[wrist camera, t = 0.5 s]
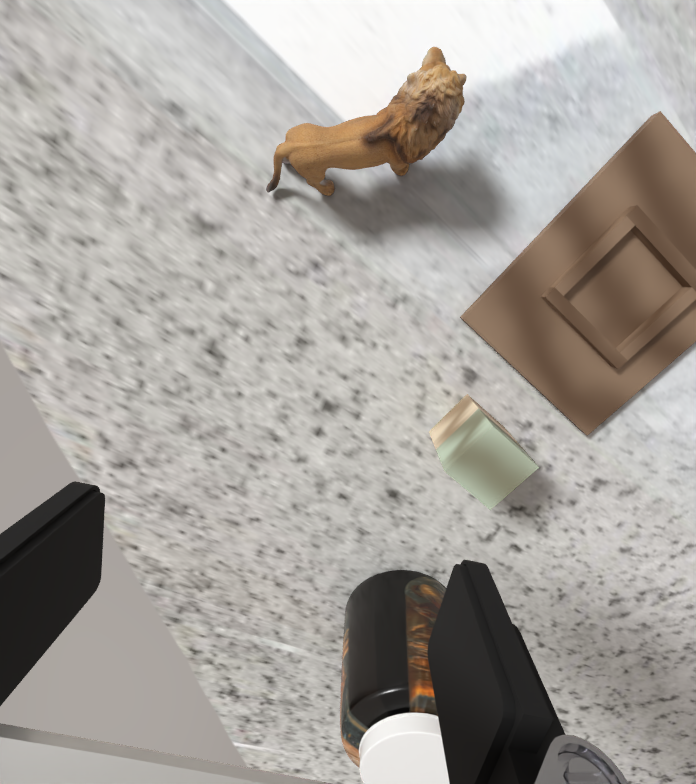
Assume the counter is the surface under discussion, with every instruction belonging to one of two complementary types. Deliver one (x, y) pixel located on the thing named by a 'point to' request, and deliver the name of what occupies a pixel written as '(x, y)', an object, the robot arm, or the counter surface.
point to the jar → (391, 680)
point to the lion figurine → (379, 129)
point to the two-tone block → (480, 453)
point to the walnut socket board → (604, 282)
